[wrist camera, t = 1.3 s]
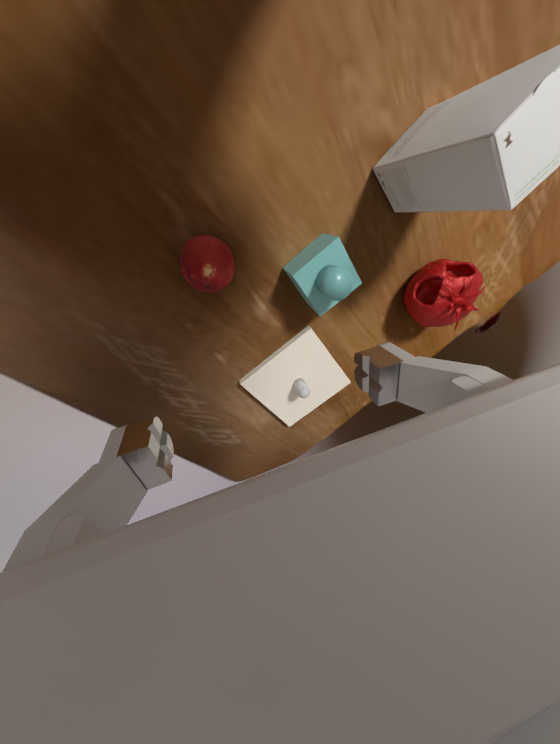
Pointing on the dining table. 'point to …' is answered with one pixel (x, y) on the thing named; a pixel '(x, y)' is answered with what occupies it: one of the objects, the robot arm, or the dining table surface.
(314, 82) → the dining table surface
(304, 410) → the post stand
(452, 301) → the pomegranate
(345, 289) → the teal knobbed block
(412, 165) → the skincare box
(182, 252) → the onion
